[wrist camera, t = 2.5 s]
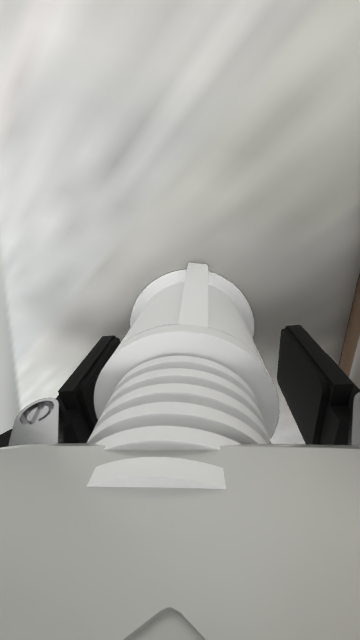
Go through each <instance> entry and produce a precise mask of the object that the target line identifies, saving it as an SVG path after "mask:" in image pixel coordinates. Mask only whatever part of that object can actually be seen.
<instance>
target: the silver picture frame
mask: <svg viewBox="0 0 360 640" xmlns="http://www.w3.org/2000/svg"><path fill="white" fill-rule="evenodd" d="M339 367H340V368H341V369H342V371H343V372H344V373H345V374H346V375H347V376H348V377H349V378H350V379H351V380H352V382H353V383H354V384H355V385H356V386H357V387H358V388H359V389H360V275H359V279H358V284H357V288H356V292H355V297H354V301H353V306H352V310H351V315H350V319H349V324H348V328H347V332H346V337H345V341H344V346H343V350H342V355H341V359H340V364H339Z"/></svg>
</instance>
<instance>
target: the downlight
mask: <svg viewBox="0 0 360 640" xmlns="http://www.w3.org/2000/svg"><path fill="white" fill-rule="evenodd" d="M253 336H254V318H253V314H252V310H251V308H250V305H249V303H248V301H247V300H246V298H245V297H244V295H243V294H242V292H241V291H240V290H239V289H238V288H237V287H236V286H235V285H234V284H233V283H231V282H230V281H229V280H227V279H225V278H224V277H222V276H220V275H218V274H215V273H212V272H209V271H208V265H207V264H198V263H188V266H187V269H184V270H177V271H174V272H170V273H168V274H165V275H163V276H161V277H159V278H157V279H156V280H154V281H153V282H152V283H150V284H149V285H148V286H147V287H146V288H145V289H144V290H143V291H142V293H141V294H140V295H139V297H138V298H137V300H136V302H135V304H134V307H133V309H132V313H131V318H130V330H129V331H128V333H127V334H126V336H125V337H124V339H123V340H122V341H121V343H120V344H119V346H118V347H117V349H116V350H115V352H114V353H113V354H112V356H111V357H110V359H109V360H108V362H107V363H106V364H105V366H104V367H103V369H102V370H101V372H100V374H99V376H98V379H97V382H96V385H95V390H94V407H95V412H96V416H97V419H98V422H97V424H96V426H95V428H94V430H93V432H92V434H91V436H90V438H89V439H88V441H87V443H95V444H98V445H104V446H105V448H104V450H220V446H228V445H239V444H271V442H270V439H271V437H272V435H273V433H274V431H275V429H276V426H277V423H278V419H279V399H278V394H277V391H276V388H275V386H274V383H273V381H272V379H271V377H270V375H269V373H268V371H267V369H266V367H265V364H264V362H263V360H262V358H261V356H260V354H259V352H258V350H257V348H256V345H255V343H254V341H253ZM87 486H90V487H155V488H203V489H226V484H225V478H224V471H223V468H222V467H218V466H215V465H212V464H207V463H203V462H199V461H194V460H187V459H181V458H170V457H138V458H130V459H123V460H118V461H113V462H109V463H106V464H102V465H99V466H97V467H95V470H94V472H93V474H92V476H91V478H90V480H89V482H88V484H87Z"/></svg>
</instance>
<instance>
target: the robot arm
mask: <svg viewBox="0 0 360 640" xmlns="http://www.w3.org/2000/svg"><path fill="white" fill-rule="evenodd" d="M120 343H121V342H120V339H119V338H116V336H103V337H102V338H101V339H100V340H99V342H98V343H97V344H96V345H95V346H94V348H93V349H92V350H91V351H90V353H89V354H88V355H87V356H86V358H85V359H84V360H83V361H82V362H81V364H80V365H79V366H78V367H77V369H76V370H75V371H74V372H73V374H72V375H71V376H70V377H69V379H68V380H67V381H66V382H65V383H64V385H63V386H62V387H61V388H60V390H59V391H58V393H59V395H58V396H57V398H56V399H55V398H43V399H40V400H37V401H35V402H33V403H31V404H29V405H28V406H26V407H25V408H24V409H23V410H21V411H20V413H19V414H18V415H17V417H16V419H15V422H14V426H13V429H11V430H9V431H7V432H5V433H3V434H1V435H0V640H360V389H359V388H358V387H357V386H356V385H355V384H354V383H353V382H352V380H351V379H350V378H349V377H348V376H347V375H346V374H345V373H344V372H343V371H342V369H341V368H340V367H339V366H338V365H337V364H336V363H335V362H334V361H333V360H332V359H331V357H330V356H329V355H328V354H327V353H325V352H324V351H323V350H322V349H321V347H320V346H319V345H318V344H317V343H316V342H315V341H314V340H313V339H312V337H311V336H310V335H309V334H308V333H307V332H306V331H305V330H304V329H303V327H302V326H300V325H294V326H286V328H285V329H282V330H281V338H280V349H279V361H278V372H277V380H278V384H279V386H280V388H281V391H282V393H283V395H284V397H285V399H286V402H287V404H288V406H289V408H290V410H291V412H292V415H293V417H294V419H295V421H296V423H297V425H298V428H299V430H300V432H301V434H302V436H303V439H304V441H305V443H306V444H239V445H228V446H220V450H104V448H105V446H104V445H98V444H95V443H87V441H88V439H89V438H90V436H91V434H92V432H93V430H94V428H95V426H96V424H97V422H98V419H97V416H96V412H95V407H94V390H95V385H96V382H97V379H98V376H99V374H100V372H101V370H102V369H103V367H104V366H105V364H106V363H107V362H108V360H109V359H110V357H111V356H112V354H113V353H114V352H115V350H116V349H117V347H118V346H119V344H120ZM138 457H170V458H181V459H187V460H194V461H199V462H203V463H207V464H212V465H215V466H218V467H222V468H223V471H224V478H225V484H226V489H203V488H155V487H90V486H87V484H88V482H89V480H90V478H91V476H92V474H93V472H94V470H95V467H97V466H99V465H102V464H106V463H109V462H113V461H118V460H123V459H130V458H138Z"/></svg>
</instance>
